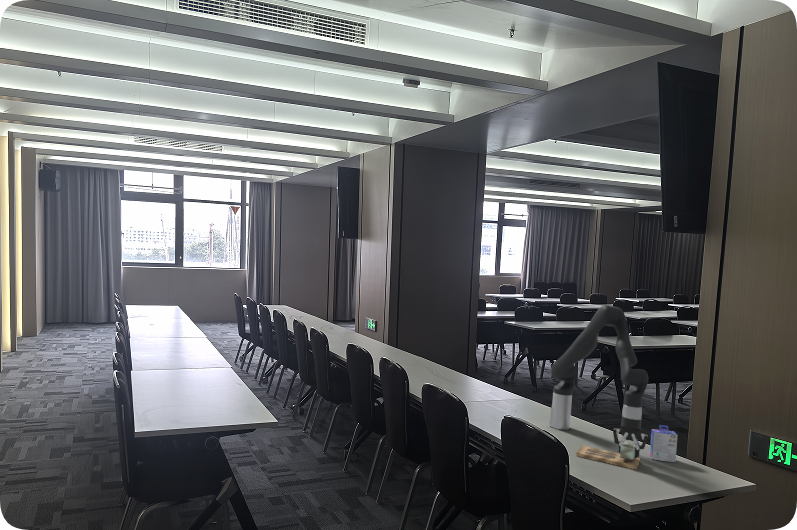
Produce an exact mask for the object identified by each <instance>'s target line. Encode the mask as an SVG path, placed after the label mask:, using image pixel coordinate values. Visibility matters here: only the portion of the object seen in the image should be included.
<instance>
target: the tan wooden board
mask: <svg viewBox="0 0 797 530" xmlns="http://www.w3.org/2000/svg"><path fill="white" fill-rule="evenodd" d="M575 455H576V457H578V456H579V458H583V459H587V458H588V460H591V461H597V462H600V461H601V463H604V462H606V463H605V464H608V463H610V464H609V465H613V464H614V465H613V466H617V465H619V466H618V467H621V466H623V467H622V468H625V467H627V468H626V469H630V468H632V469H631V470H634V469H635V470H634V471H637V470H638V467H639V464H640V463H641V458H640V457H637V458H634V460H633V461H632V460H628V459H624V458H620V453H619V452H613V451H609V450H605V449H600V448H596V447H591V446H587V445H581V446H580V448H578V449H577V452H576V454H575ZM639 462H640V463H639Z"/></svg>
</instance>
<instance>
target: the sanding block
mask: <svg viewBox="0 0 797 530" xmlns="http://www.w3.org/2000/svg"><path fill="white" fill-rule="evenodd" d="M635 452H636V446H635V444H634V442H630V441H629V442H628V441H624V442H623V445H622V446H621V450H620V453H619V454H620V458H624V459H628V460H632V461H633V460H634V458H635Z"/></svg>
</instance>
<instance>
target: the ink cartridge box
mask: <svg viewBox="0 0 797 530" xmlns="http://www.w3.org/2000/svg"><path fill="white" fill-rule="evenodd" d="M650 432H651V433H650V448H649V458H651V460H653V459H654V460H655V461H662V462H663V461H664V462H667V463H670V462H671V463H676V462H677V461H676V460H677V445H678V436H679V435H678V433H676V432H675V431H673V430H672V431H671V430H670V429H669V426H668V425H662V424H659V429H653V428H652V429H651V431H650Z"/></svg>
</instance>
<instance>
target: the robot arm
mask: <svg viewBox="0 0 797 530" xmlns="http://www.w3.org/2000/svg"><path fill="white" fill-rule="evenodd" d="M605 326H607V327H611V328H614V330H615V331H616V334H617V336H616V337H617V339H616V342H615V352H616V353H615V354H616V355H617V358H618V361H619V363H620V378H621V382H622V383H623V384H624V385H626V386H629V387H630V386H631V387H633V388H632V389H628V390H627V391H625V392H624V394H623V395H624V397H623V407H622V411H621V423H620V424H621V425H620V428H617V427H615V428H613V429H612V433H613V440H614V443H615V444H616V445H618V453H619V454H620V450H621V446H622V445H623V444H624V443H625V442H626V441H629V442H630V441H631V442H633V444H635V446H636V452H635V458H640V451H641V450H645V447H646V444H647V441H648V438H649V435H648V434H647V433H646V434H645V433H642V431H641V430H642V429H641V427H642V415H643V413H642V411H643V409H642V408H643V407H642V406H643V398H644V397H643V396H644V395H645V391H646V389H647V386H648V383H649V375H648V372H647V371H646V370H645V369H641V368H632V367H634V366H635V365H637V363H638V359H637V356H636V353H635V351H634V348H633V346H632V343H631V339H630V335H629V329H628V323H627V319H626V315H625V313H624V310H623V309H622V308H620V307H619V306H614V305H606V304H605V305H601V306H600V307H598V309H597V311H596V312H595V313H594V315H593V317H592V318H591V320H590V321H589V323H588V324H587V325H586V327H585V328H584V329H583V330H582V332H581V333H580V334H579V335H578V336H577V337H576V339H575V340H574V341H573V342H572V344H570V346H569V348H567V350H566V351H565V352H564V353H563V354H562V355H561V356H560V357H558V359H557V360H556V361H554V363H553V364H552V366H551V367H550V368H551V369H550V375H551V377H552V378H553V379H555V380H557V381H560V382H559V383H558V384H555V385H554V386H553V391H552V403H551V407H550V414H549V415H550V416H549V427H551V428H553V429H557V430H564V431H565V430H567V431H568V430H569V429H570V426H571V415H572V404H573V403H572V401H573V392H574V390H575V385H576V384H575V383H576V377H577V369H576V366H575V364H577V363H579V362H580V361H582V360H585V359H586V358H587V357H589V355H591V354H592V353H593V352H594V350H595V349H596V347H597V346H598V343H599V342H598V341H599V340H598V339H599V332H600V331H601V330H602V328H603V327H605ZM619 433H620V434H621V436H622V437H621V439H620V440H619V438H618V437H619V436H618V435H619ZM640 437H641V439H642V443H641V445H640V443H639V438H640Z"/></svg>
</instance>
